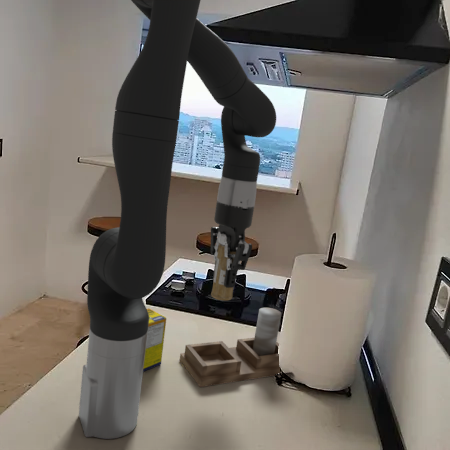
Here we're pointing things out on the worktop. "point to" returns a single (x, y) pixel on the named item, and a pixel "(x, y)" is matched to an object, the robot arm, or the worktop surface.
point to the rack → (237, 355)
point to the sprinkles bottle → (221, 274)
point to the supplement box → (154, 340)
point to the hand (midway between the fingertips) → (223, 282)
